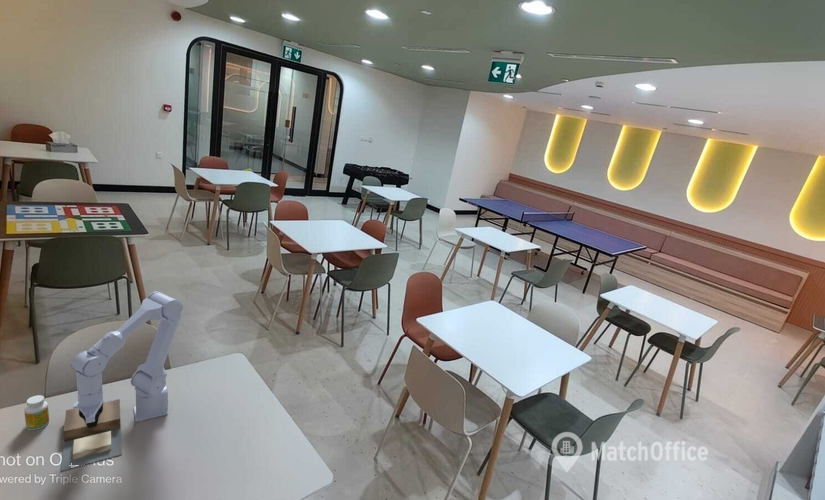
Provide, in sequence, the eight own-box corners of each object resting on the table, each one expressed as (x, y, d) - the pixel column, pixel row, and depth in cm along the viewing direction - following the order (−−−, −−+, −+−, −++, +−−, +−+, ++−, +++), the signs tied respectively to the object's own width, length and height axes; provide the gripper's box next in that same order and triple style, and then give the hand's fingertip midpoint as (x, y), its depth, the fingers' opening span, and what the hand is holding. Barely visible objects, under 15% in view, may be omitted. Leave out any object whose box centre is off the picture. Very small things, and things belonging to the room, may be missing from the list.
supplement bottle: (35, 432, 122) (32, 407, 119) (21, 427, 123) (18, 402, 120) (54, 421, 127) (51, 396, 125) (40, 416, 128) (37, 391, 125)
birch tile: (111, 444, 121) (111, 449, 122) (110, 430, 125) (111, 435, 126) (72, 454, 116) (73, 459, 116) (73, 439, 120) (74, 444, 121)
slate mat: (120, 428, 130) (120, 428, 129) (121, 455, 121) (121, 454, 121) (64, 442, 121) (64, 441, 121) (60, 471, 112) (60, 470, 112)
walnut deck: (119, 408, 137) (119, 399, 136) (120, 428, 130) (120, 418, 129) (66, 420, 129) (66, 410, 127) (64, 441, 121) (63, 431, 120)
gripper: (74, 377, 120) (76, 413, 124) (70, 408, 109) (73, 447, 113) (103, 372, 124) (105, 407, 128) (102, 402, 113) (104, 439, 117)
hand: (92, 425), depth 121 cm, fingers closed
